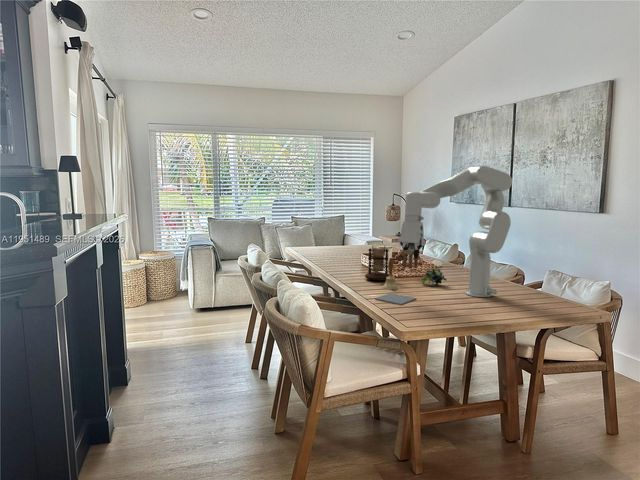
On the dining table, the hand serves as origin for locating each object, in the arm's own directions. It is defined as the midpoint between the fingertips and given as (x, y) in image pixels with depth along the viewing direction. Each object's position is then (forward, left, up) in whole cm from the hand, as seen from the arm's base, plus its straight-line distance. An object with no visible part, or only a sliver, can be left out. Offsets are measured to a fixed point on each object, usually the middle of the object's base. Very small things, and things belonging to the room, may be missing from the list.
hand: (410, 256), depth 196 cm
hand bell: (+19, -14, -20) cm, 31 cm away
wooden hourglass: (+35, -26, -20) cm, 48 cm away
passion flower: (+5, -35, -21) cm, 41 cm away
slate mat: (+4, +5, -20) cm, 21 cm away
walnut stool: (0, 0, -5) cm, 5 cm away
